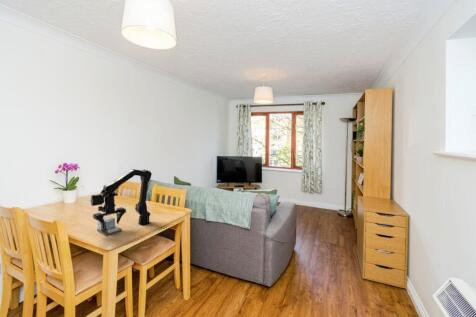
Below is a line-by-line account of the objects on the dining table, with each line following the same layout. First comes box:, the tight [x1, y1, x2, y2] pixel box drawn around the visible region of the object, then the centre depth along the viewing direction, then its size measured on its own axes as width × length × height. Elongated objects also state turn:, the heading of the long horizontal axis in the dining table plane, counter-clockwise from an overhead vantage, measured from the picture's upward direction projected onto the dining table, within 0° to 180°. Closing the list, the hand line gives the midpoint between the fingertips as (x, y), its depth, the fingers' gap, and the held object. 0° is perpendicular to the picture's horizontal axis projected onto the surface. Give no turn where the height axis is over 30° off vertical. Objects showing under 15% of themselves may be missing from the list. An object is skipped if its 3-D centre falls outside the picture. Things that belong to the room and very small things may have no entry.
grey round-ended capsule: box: [106, 219, 116, 231], centre depth 153 cm, size 5×5×6 cm
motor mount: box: [96, 216, 123, 237], centre depth 154 cm, size 10×13×7 cm
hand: (110, 225), depth 153 cm, fingers open, 9 cm apart
